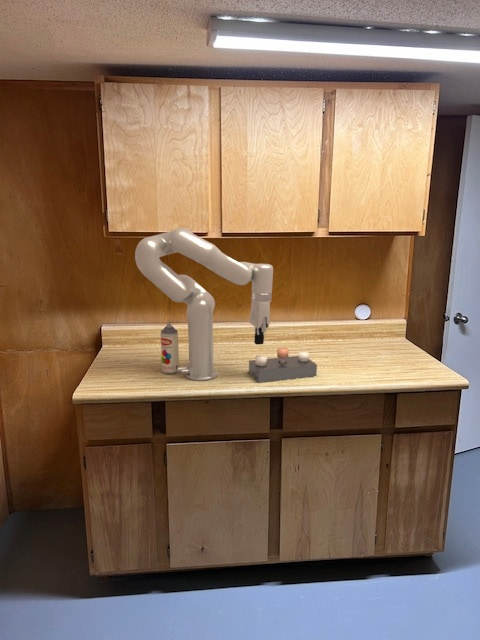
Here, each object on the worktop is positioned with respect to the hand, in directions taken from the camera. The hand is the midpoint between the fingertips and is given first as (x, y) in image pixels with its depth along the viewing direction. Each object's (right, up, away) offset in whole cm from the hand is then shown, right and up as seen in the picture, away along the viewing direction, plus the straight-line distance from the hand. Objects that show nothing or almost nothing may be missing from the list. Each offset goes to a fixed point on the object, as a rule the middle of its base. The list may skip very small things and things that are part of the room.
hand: (258, 343), depth 178 cm
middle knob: (+10, -10, +5) cm, 15 cm away
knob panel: (+10, -12, +6) cm, 17 cm away
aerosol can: (-35, -12, +9) cm, 38 cm away
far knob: (+18, -12, +8) cm, 23 cm away
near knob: (+1, -13, +3) cm, 13 cm away
